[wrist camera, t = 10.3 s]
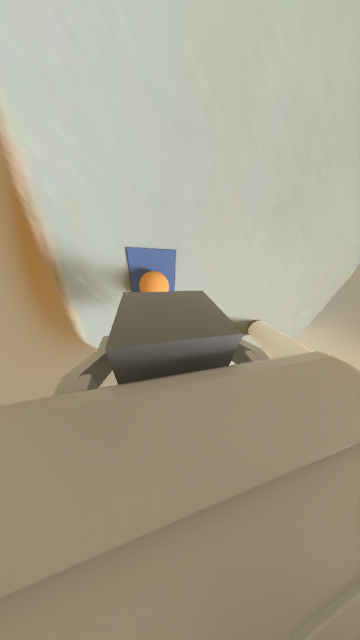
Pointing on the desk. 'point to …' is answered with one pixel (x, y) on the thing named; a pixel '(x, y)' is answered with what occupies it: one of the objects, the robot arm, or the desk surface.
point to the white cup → (275, 341)
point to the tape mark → (151, 264)
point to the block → (169, 335)
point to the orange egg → (154, 282)
